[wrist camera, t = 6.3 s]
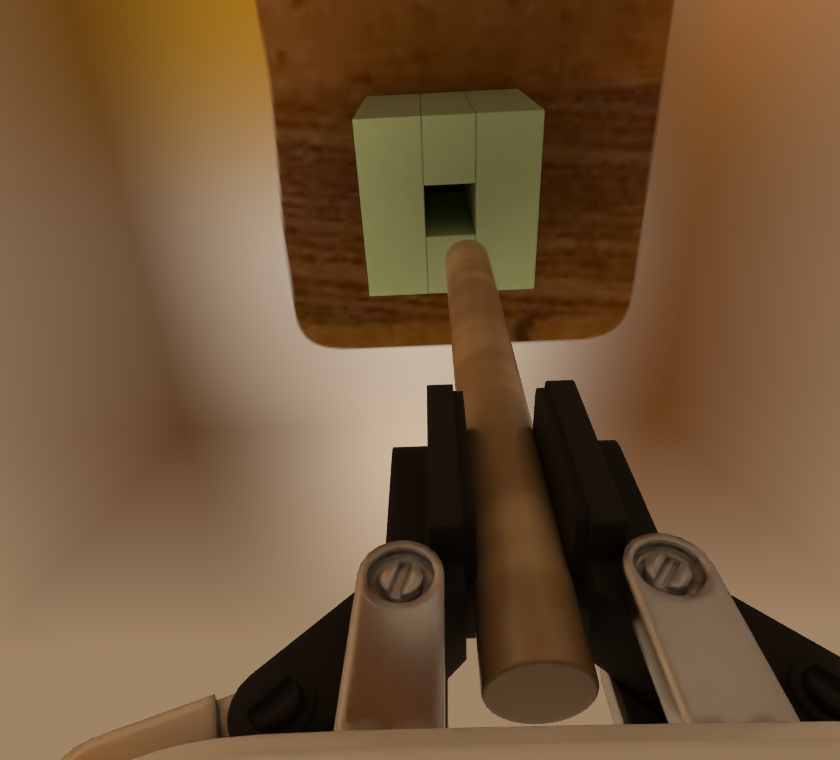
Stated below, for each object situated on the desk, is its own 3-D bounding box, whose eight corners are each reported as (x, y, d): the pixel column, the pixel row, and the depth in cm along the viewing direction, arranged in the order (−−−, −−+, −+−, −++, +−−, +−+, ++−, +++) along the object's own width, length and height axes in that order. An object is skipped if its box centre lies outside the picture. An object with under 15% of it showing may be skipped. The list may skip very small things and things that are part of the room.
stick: (488, 237, 21) (607, 659, 8) (488, 279, 22) (593, 725, 8) (444, 239, 21) (482, 661, 8) (445, 281, 22) (480, 727, 8)
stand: (518, 88, 32) (545, 109, 25) (512, 237, 37) (534, 289, 30) (365, 96, 32) (351, 119, 26) (378, 243, 37) (369, 296, 30)
